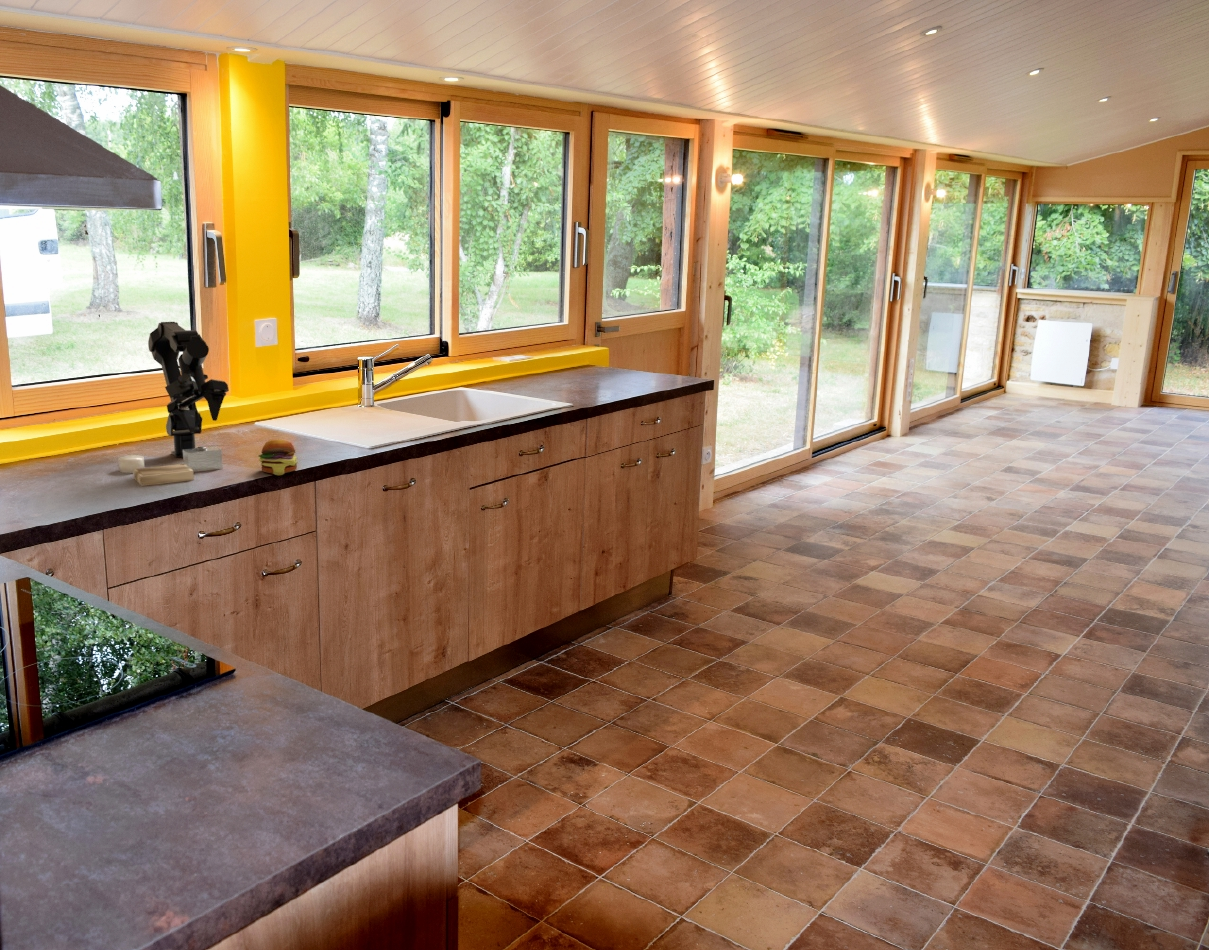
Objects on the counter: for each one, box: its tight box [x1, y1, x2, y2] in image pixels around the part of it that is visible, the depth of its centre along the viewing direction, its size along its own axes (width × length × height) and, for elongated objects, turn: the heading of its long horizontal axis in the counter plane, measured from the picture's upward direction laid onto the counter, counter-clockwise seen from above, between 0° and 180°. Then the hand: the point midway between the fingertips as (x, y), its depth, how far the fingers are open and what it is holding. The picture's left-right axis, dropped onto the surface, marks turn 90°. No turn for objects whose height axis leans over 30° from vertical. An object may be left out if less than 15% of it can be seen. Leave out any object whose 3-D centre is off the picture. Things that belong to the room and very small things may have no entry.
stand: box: [132, 463, 195, 487], centre depth 283 cm, size 9×13×3 cm
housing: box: [182, 445, 224, 473], centre depth 295 cm, size 5×9×6 cm, turn 126°
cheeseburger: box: [258, 438, 298, 476], centre depth 295 cm, size 10×11×10 cm
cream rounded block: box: [117, 455, 146, 474], centre depth 291 cm, size 6×6×4 cm
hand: (203, 426), depth 290 cm, fingers open, 9 cm apart
